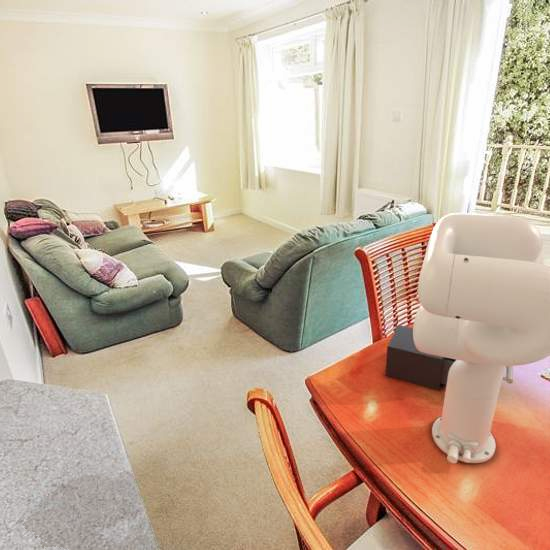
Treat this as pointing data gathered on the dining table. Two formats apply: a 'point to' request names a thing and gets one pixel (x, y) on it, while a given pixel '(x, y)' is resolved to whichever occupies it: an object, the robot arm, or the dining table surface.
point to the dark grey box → (412, 361)
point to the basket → (448, 361)
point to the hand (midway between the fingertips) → (469, 353)
